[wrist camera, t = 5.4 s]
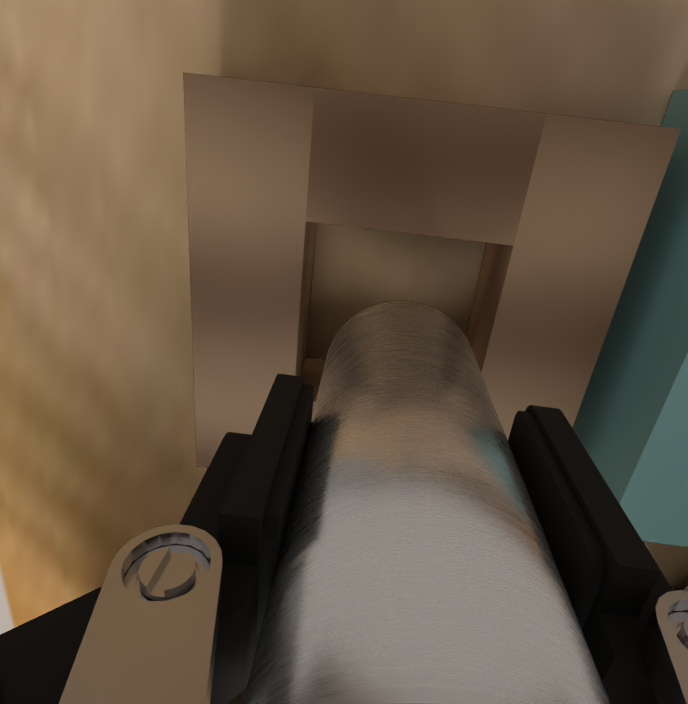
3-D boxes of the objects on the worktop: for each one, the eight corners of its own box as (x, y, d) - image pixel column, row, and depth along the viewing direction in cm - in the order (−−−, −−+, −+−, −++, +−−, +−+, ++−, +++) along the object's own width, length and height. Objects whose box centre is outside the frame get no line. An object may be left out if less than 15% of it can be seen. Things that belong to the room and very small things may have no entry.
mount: (520, 455, 20) (542, 509, 17) (221, 418, 20) (196, 466, 17) (625, 125, 15) (681, 128, 12) (219, 79, 15) (183, 72, 12)
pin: (458, 442, 14) (586, 991, 5) (319, 424, 14) (212, 934, 5) (489, 311, 13) (757, 788, 4) (332, 292, 13) (207, 711, 4)
